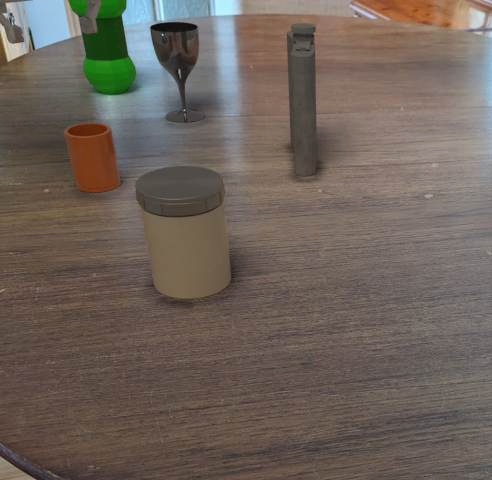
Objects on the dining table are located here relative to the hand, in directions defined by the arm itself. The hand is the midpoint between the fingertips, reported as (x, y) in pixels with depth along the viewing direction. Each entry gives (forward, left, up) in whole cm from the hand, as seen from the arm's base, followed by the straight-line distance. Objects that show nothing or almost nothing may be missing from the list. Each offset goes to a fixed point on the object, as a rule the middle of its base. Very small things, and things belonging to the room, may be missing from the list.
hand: (54, 37), depth 92 cm
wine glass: (+24, +26, -21) cm, 41 cm away
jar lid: (+4, -31, -9) cm, 33 cm away
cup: (+2, +2, -21) cm, 21 cm away
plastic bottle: (+17, +47, -21) cm, 54 cm away
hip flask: (+34, -2, -21) cm, 40 cm away
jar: (+4, -31, -21) cm, 38 cm away
